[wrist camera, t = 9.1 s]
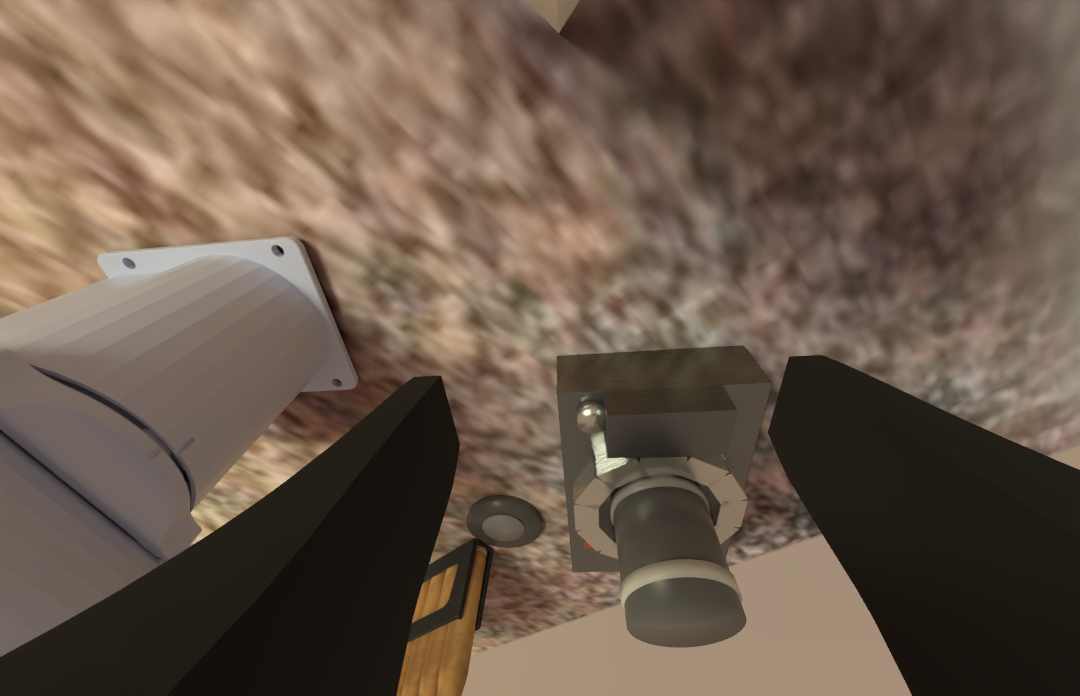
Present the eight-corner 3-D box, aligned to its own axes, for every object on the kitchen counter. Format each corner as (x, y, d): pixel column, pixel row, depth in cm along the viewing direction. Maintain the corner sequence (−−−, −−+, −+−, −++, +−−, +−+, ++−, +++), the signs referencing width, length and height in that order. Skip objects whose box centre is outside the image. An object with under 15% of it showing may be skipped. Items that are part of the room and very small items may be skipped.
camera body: (571, 527, 27) (573, 599, 23) (557, 356, 20) (556, 417, 16) (706, 524, 26) (732, 598, 22) (743, 345, 19) (791, 407, 15)
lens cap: (479, 538, 29) (476, 551, 28) (461, 494, 26) (457, 507, 25) (546, 535, 28) (545, 549, 27) (534, 490, 25) (533, 503, 25)
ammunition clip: (475, 537, 28) (427, 784, 18) (494, 548, 29) (459, 793, 18) (389, 587, 32) (310, 811, 22) (407, 596, 33) (339, 818, 22)
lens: (609, 517, 21) (625, 648, 16) (605, 462, 19) (623, 598, 14) (696, 512, 21) (739, 647, 16) (704, 455, 18) (759, 595, 13)
